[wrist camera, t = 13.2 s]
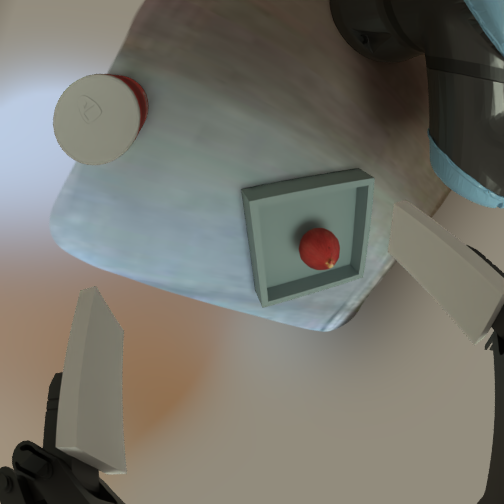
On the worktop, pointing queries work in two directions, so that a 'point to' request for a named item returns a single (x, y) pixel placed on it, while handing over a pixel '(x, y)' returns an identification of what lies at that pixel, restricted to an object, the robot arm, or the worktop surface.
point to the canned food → (99, 117)
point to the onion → (319, 249)
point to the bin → (298, 223)
